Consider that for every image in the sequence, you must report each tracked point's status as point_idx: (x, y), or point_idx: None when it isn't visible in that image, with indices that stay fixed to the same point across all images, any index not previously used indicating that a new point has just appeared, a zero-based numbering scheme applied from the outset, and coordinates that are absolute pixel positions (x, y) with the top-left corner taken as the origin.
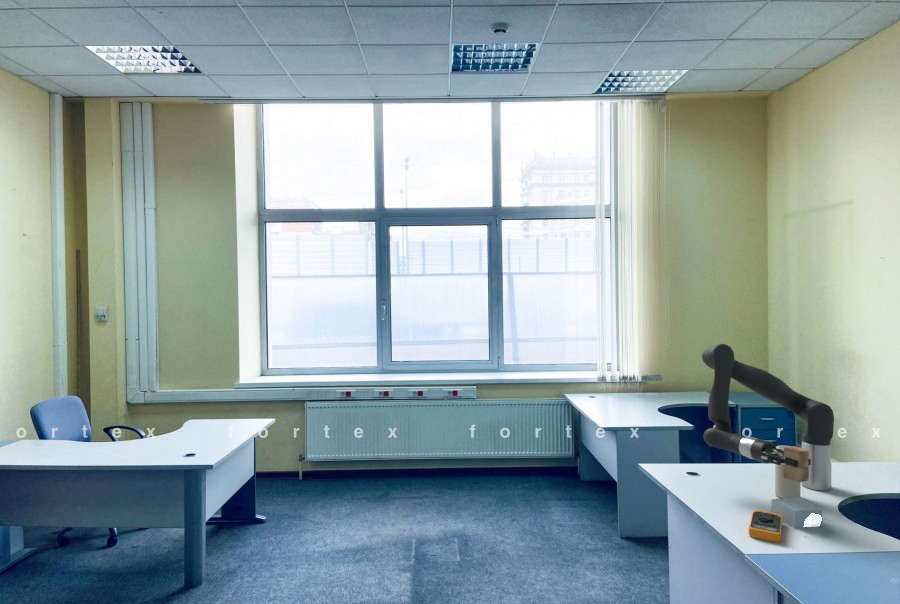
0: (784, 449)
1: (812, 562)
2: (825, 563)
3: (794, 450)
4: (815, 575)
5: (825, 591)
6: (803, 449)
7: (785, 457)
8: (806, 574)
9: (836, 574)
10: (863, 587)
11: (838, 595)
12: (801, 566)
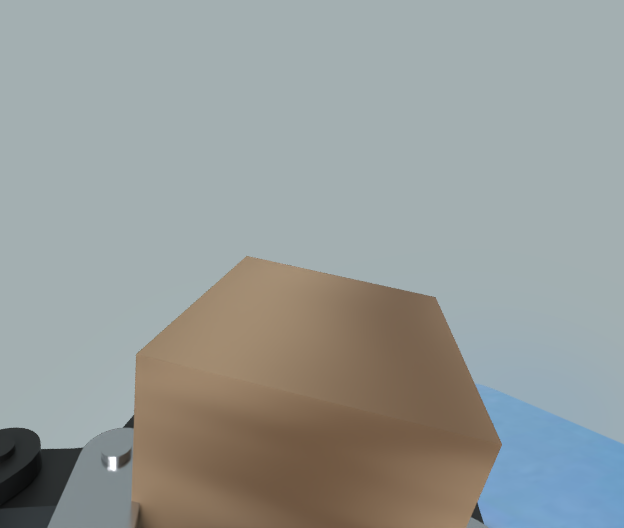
0: (482, 458)
1: (550, 512)
2: (510, 487)
3: (434, 320)
4: (591, 482)
5: (610, 448)
6: (264, 278)
7: (477, 520)
8: (617, 498)
9: (525, 454)
10: (505, 411)
11: (588, 430)
12: (606, 523)
